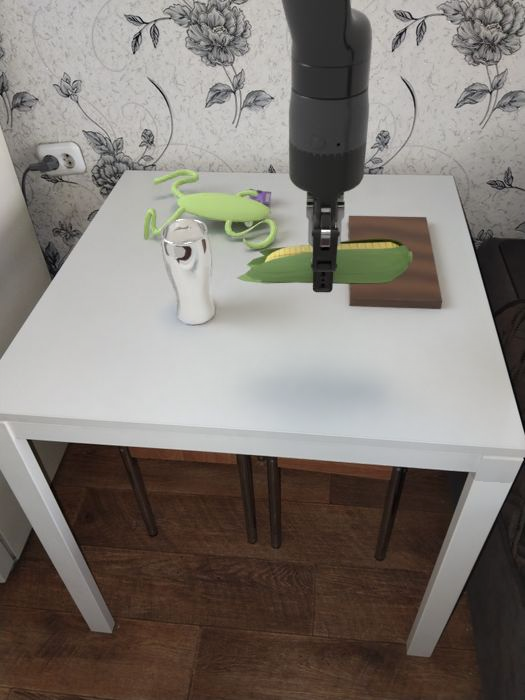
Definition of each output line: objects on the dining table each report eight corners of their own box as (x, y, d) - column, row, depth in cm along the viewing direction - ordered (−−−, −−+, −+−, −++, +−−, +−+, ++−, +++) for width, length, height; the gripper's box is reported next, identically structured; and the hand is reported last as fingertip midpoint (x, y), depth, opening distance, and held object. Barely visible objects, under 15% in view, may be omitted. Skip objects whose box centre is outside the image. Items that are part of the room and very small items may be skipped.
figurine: (165, 188, 121) (160, 163, 117) (292, 200, 116) (292, 174, 112) (129, 238, 108) (123, 211, 104) (270, 254, 103) (269, 227, 99)
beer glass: (216, 326, 90) (206, 244, 80) (171, 327, 90) (155, 245, 80) (219, 297, 95) (210, 216, 84) (176, 298, 95) (162, 217, 85)
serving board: (440, 308, 91) (442, 301, 90) (349, 305, 92) (350, 298, 91) (425, 224, 108) (426, 216, 107) (348, 222, 109) (348, 215, 108)
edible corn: (412, 289, 67) (418, 255, 63) (236, 295, 67) (232, 262, 64) (404, 262, 70) (409, 229, 67) (237, 268, 71) (234, 235, 68)
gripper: (371, 168, 51) (357, 316, 63) (363, 103, 62) (352, 241, 73) (285, 169, 52) (287, 315, 64) (291, 104, 62) (292, 240, 74)
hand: (322, 274), depth 69 cm, fingers closed on edible corn, 5 cm apart
